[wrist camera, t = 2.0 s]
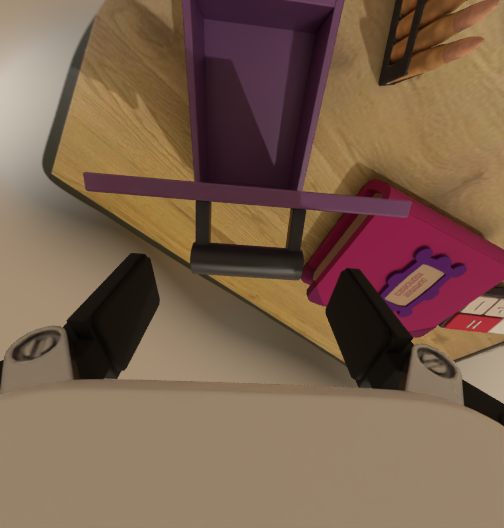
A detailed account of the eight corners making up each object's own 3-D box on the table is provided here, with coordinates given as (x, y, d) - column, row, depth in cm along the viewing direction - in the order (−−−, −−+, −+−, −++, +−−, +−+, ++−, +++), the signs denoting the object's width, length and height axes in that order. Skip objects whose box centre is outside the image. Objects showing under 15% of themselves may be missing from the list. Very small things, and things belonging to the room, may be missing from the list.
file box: (198, 11, 21) (179, -29, 16) (321, 27, 22) (345, -5, 17) (205, 183, 31) (195, 195, 26) (290, 190, 32) (299, 204, 26)
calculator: (477, 294, 40) (550, 303, 40) (459, 281, 43) (526, 289, 44) (441, 330, 46) (505, 337, 46) (428, 315, 50) (487, 322, 50)
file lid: (81, 171, 8) (97, 284, 9) (413, 201, 8) (383, 301, 10) (194, 193, 25) (194, 231, 27) (300, 202, 26) (295, 239, 27)
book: (369, 176, 31) (399, 189, 24) (487, 242, 37) (534, 265, 31) (297, 275, 42) (305, 302, 35) (398, 313, 48) (420, 341, 42)
